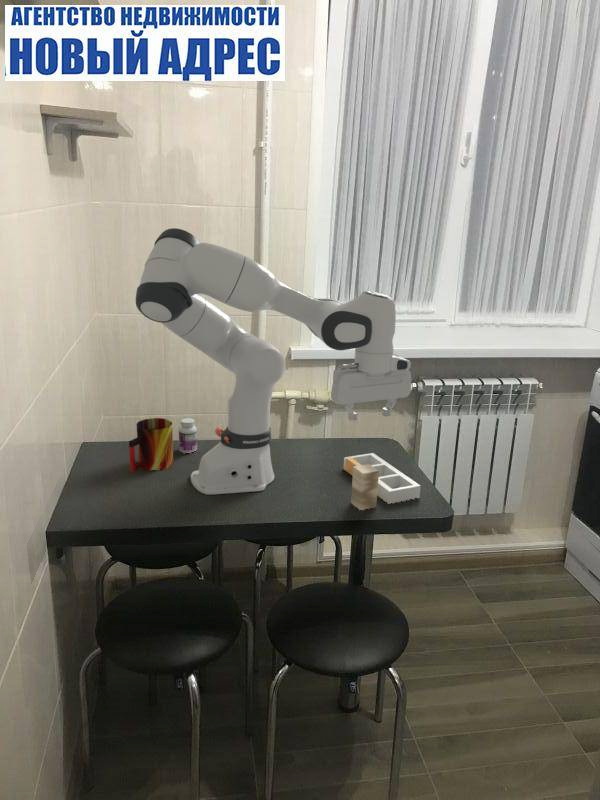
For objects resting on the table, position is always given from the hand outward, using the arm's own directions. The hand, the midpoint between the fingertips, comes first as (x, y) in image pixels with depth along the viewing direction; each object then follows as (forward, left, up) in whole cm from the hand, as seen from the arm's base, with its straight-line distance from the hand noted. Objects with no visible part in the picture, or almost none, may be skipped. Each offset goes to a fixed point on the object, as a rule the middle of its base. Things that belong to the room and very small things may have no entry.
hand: (369, 417), depth 154 cm
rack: (+11, +10, -23) cm, 28 cm away
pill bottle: (-31, +50, -23) cm, 63 cm away
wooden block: (0, 0, -23) cm, 23 cm away
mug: (-43, +42, -24) cm, 64 cm away
